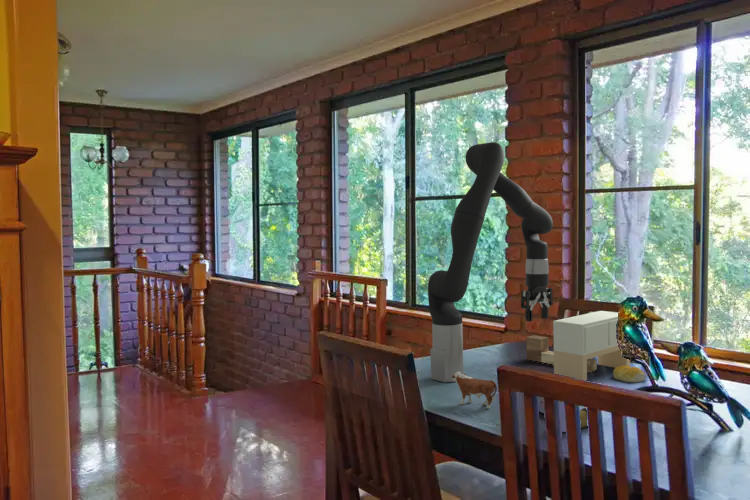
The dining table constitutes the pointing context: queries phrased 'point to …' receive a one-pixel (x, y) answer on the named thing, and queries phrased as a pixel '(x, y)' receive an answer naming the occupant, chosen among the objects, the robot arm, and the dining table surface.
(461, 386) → the bull figurine
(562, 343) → the cabinet
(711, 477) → the dining table surface
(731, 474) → the dining table surface
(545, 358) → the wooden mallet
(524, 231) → the robot arm
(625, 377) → the bread roll
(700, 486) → the dining table surface
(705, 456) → the dining table surface
